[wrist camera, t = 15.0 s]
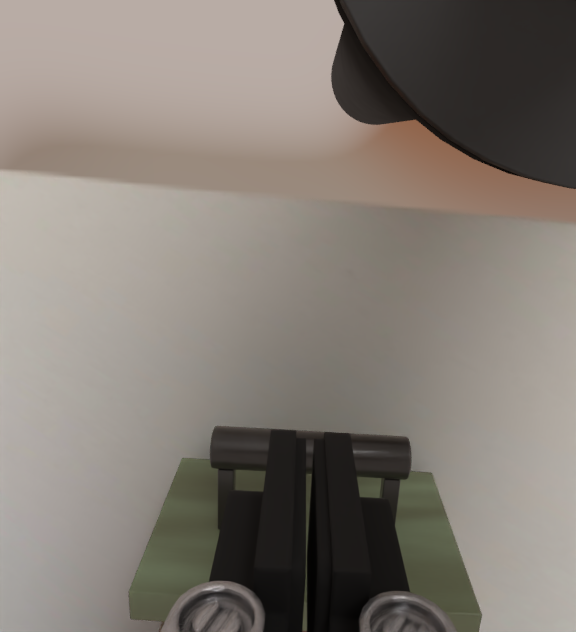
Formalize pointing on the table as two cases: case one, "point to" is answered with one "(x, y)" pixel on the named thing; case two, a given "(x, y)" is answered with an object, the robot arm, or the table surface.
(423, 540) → the drawer
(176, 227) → the table surface
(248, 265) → the table surface
